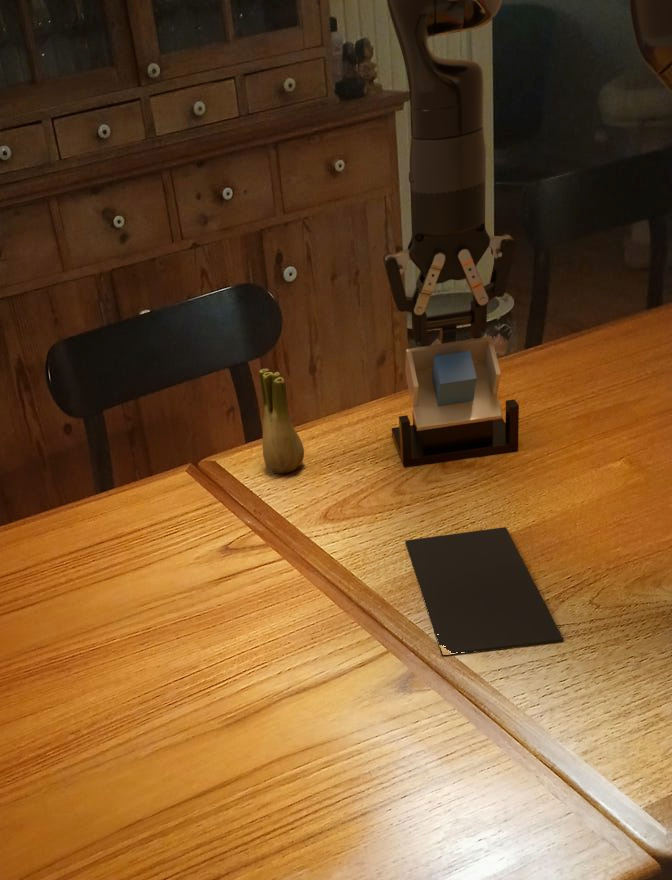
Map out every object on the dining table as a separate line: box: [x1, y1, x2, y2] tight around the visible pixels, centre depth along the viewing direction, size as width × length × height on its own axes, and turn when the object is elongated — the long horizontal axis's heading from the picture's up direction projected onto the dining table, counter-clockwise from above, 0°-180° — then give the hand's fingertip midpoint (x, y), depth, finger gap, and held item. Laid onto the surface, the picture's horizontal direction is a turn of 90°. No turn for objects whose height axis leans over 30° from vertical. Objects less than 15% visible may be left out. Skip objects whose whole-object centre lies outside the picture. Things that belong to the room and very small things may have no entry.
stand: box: [390, 399, 520, 468], centre depth 116 cm, size 13×10×6 cm
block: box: [432, 351, 477, 406], centre depth 111 cm, size 4×4×4 cm
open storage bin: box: [404, 308, 503, 431], centre depth 111 cm, size 10×11×7 cm
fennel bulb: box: [258, 368, 305, 474], centre depth 116 cm, size 6×5×12 cm
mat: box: [404, 526, 564, 654], centre depth 91 cm, size 10×20×1 cm, turn 179°
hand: (449, 339), depth 111 cm, fingers closed on open storage bin, 5 cm apart
